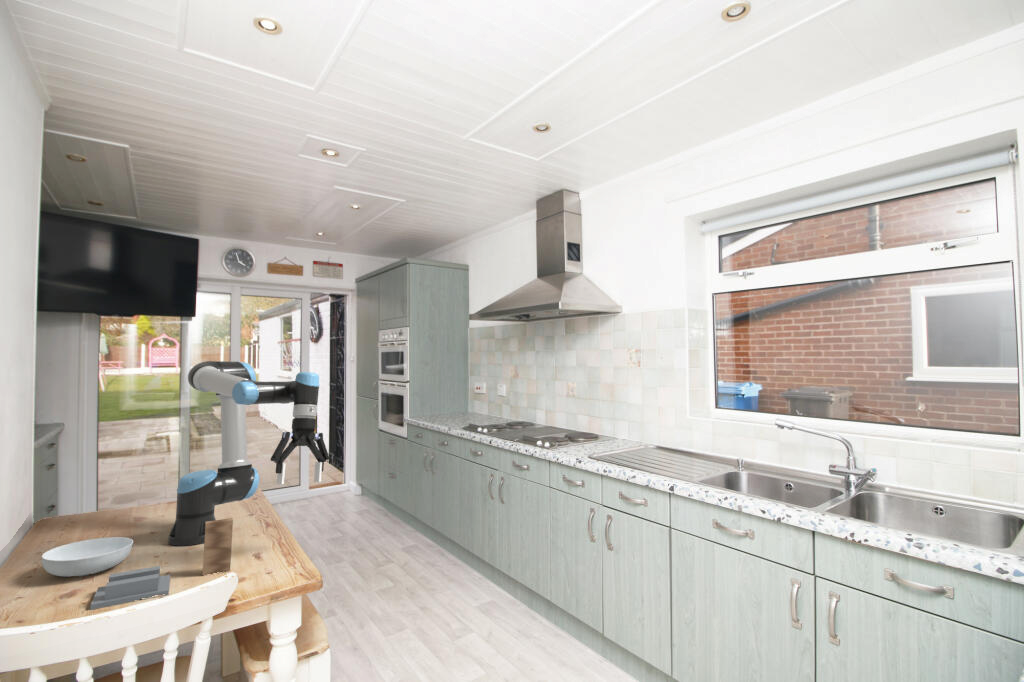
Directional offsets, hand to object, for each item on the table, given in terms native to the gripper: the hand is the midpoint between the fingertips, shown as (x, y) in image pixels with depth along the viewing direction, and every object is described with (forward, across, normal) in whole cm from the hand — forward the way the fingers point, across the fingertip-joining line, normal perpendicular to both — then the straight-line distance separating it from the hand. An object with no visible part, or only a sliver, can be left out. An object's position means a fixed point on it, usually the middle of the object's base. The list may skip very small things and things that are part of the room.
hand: (299, 483), depth 159 cm
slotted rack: (+27, -37, +15) cm, 48 cm away
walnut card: (+25, -18, +11) cm, 32 cm away
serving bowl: (+24, -38, +44) cm, 63 cm away
